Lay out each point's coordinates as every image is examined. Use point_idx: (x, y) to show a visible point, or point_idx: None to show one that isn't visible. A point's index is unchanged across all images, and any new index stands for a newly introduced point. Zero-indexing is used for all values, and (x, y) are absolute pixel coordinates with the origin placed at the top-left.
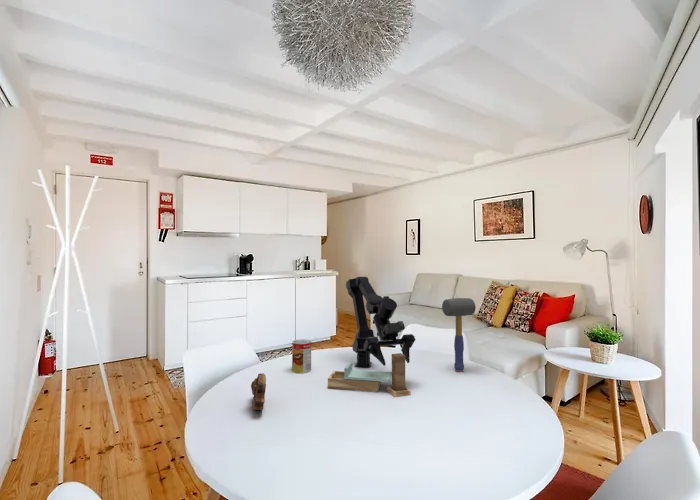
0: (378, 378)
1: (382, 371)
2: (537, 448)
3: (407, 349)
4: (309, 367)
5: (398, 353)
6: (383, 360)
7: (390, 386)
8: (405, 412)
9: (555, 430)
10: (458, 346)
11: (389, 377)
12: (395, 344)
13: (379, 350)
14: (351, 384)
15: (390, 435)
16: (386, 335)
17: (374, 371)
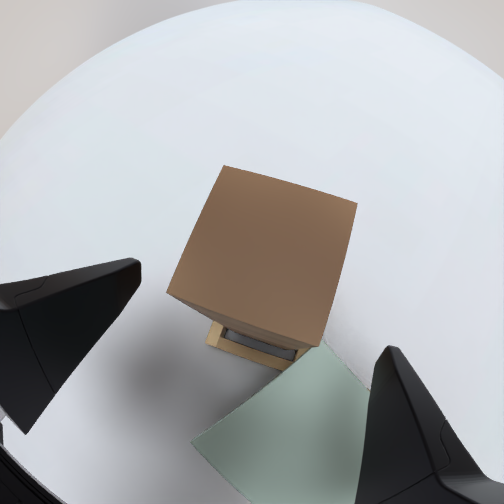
0: (362, 399)
1: (234, 485)
2: (257, 5)
3: (27, 293)
4: None
5: (204, 300)
6: (409, 369)
7: (285, 362)
8: (381, 160)
9: (176, 16)
10: None
11: (289, 373)
12: (43, 485)
13: (453, 468)
14: None
15: (466, 121)
16: None
17: None
